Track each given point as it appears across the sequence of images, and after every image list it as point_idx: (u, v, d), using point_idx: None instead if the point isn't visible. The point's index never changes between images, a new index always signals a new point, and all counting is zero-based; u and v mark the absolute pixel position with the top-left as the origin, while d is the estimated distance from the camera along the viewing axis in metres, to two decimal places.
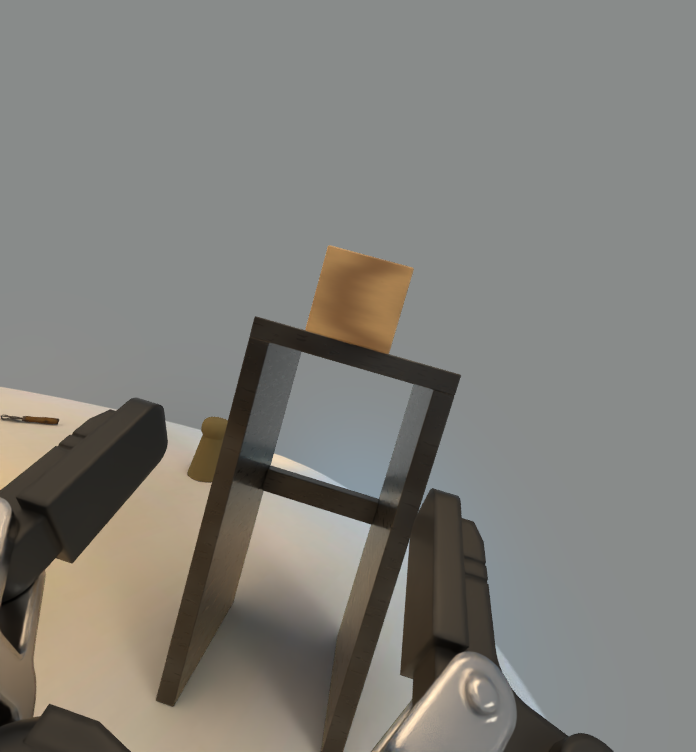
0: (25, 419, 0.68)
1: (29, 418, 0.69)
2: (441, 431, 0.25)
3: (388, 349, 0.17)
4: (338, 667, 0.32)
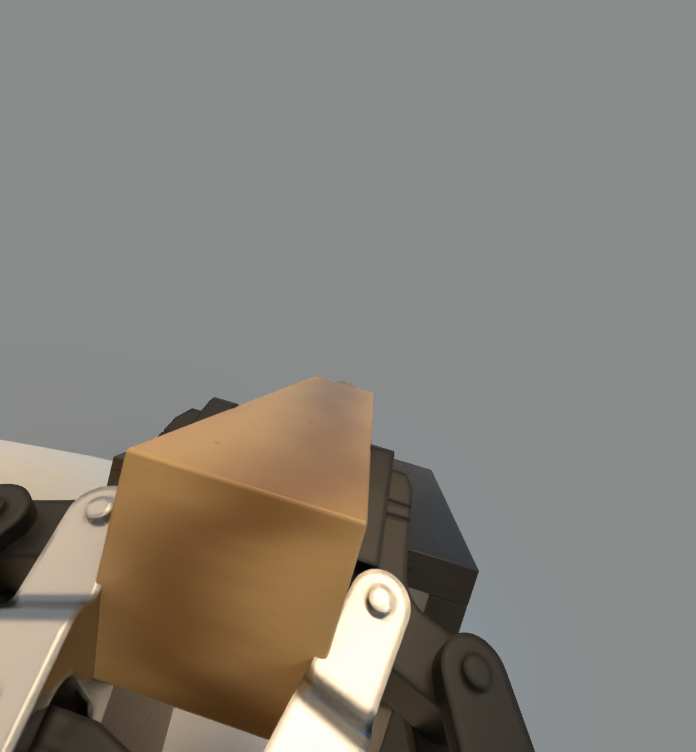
0: None
1: None
2: None
3: None
4: None
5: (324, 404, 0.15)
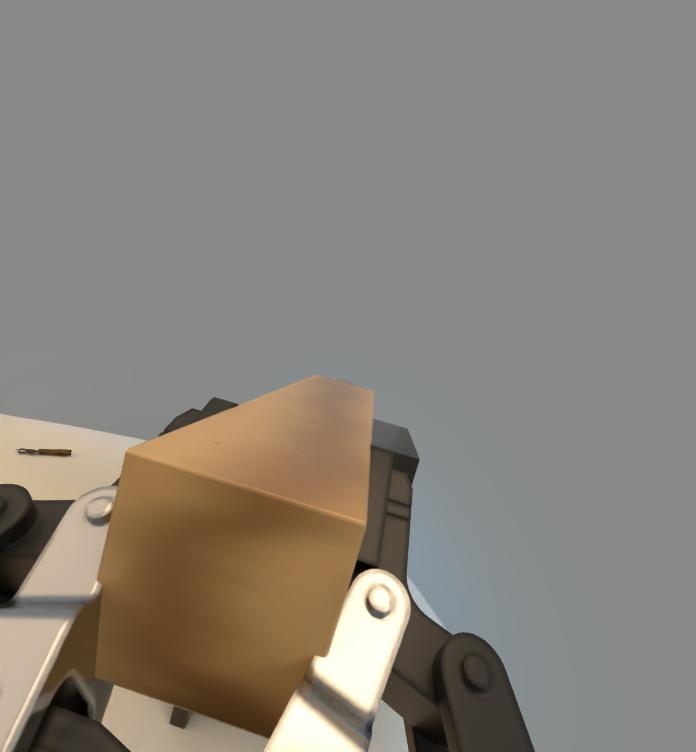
0: (41, 452, 0.74)
1: (44, 451, 0.74)
2: None
3: None
4: None
5: (324, 403, 0.15)
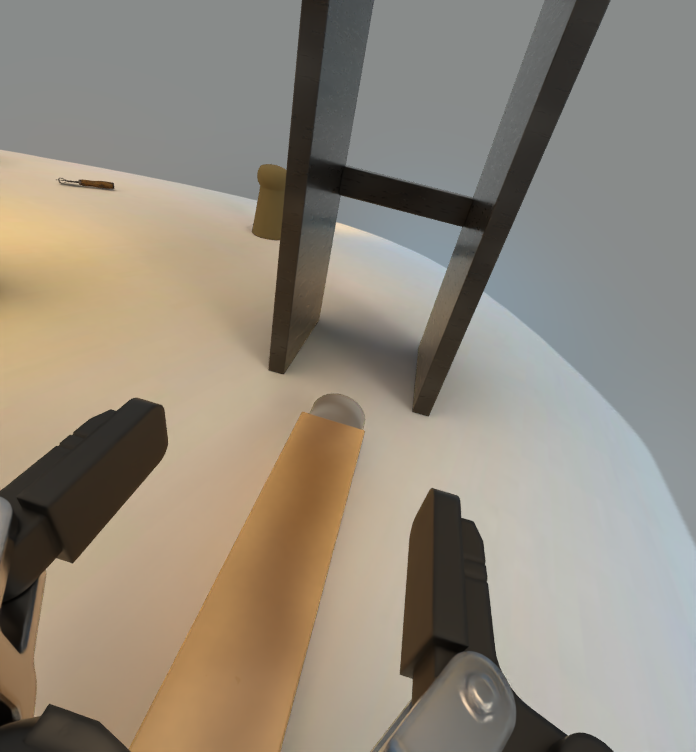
0: (82, 183, 0.66)
1: (85, 181, 0.66)
2: None
3: None
4: (426, 354, 0.34)
5: (277, 566, 0.15)
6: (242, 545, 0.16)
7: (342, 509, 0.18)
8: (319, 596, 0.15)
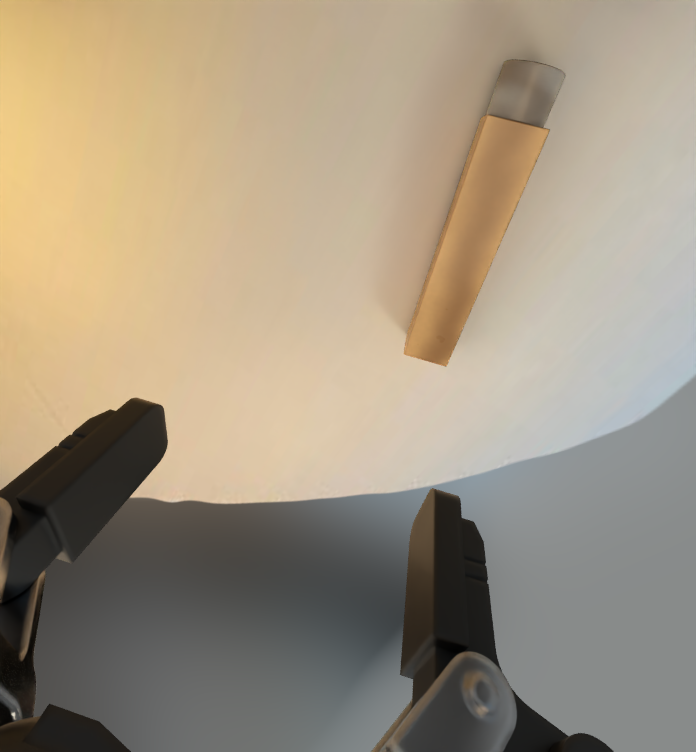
0: None
1: None
2: None
3: None
4: None
5: (462, 265, 0.29)
6: (443, 255, 0.29)
7: (507, 225, 0.27)
8: (483, 279, 0.30)
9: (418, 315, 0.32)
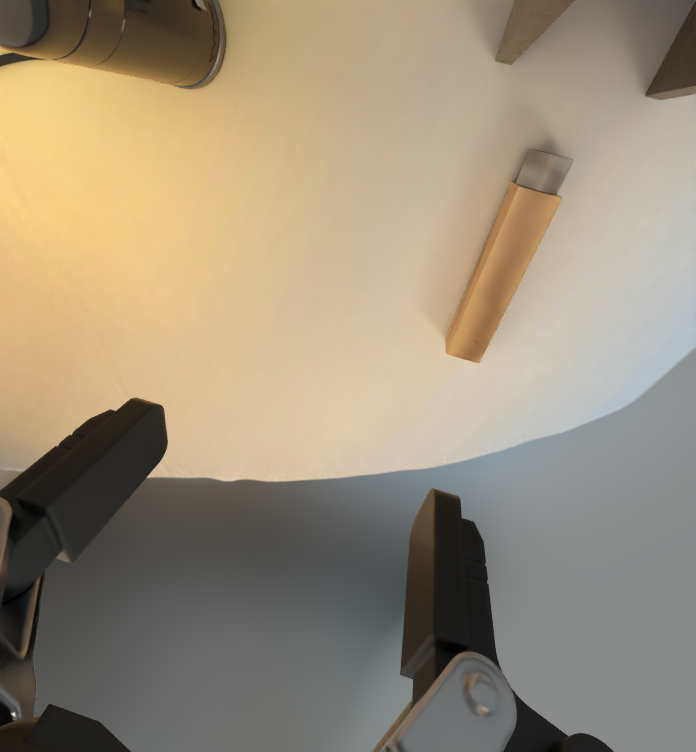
0: None
1: None
2: None
3: None
4: None
5: (495, 288, 0.40)
6: (481, 280, 0.40)
7: (529, 260, 0.38)
8: (511, 298, 0.40)
9: (459, 324, 0.43)
